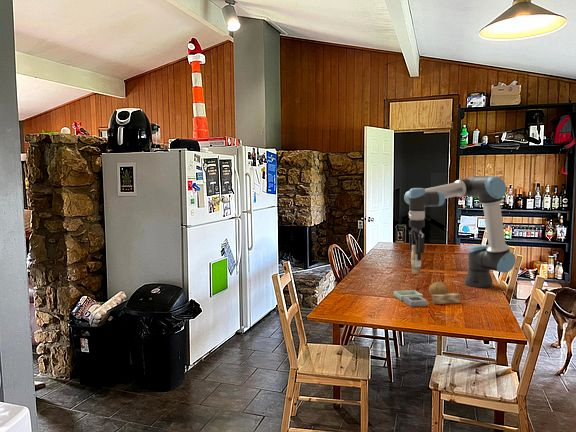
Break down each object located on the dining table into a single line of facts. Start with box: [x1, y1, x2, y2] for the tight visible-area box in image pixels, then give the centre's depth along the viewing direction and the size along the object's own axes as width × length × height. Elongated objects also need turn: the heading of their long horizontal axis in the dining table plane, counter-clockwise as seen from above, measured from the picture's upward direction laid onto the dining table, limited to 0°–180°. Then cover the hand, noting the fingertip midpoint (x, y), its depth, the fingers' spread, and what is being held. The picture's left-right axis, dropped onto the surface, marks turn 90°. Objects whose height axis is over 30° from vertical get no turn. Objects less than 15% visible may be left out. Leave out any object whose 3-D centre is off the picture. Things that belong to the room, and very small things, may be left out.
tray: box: [393, 289, 424, 302], centre depth 240 cm, size 12×10×2 cm
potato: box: [428, 281, 449, 297], centre depth 238 cm, size 10×14×8 cm
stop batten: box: [431, 292, 461, 305], centre depth 231 cm, size 14×3×4 cm, turn 99°
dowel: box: [411, 245, 421, 275], centre depth 227 cm, size 4×4×14 cm
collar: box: [402, 296, 429, 307], centre depth 229 cm, size 9×9×2 cm
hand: (416, 265), depth 227 cm, fingers closed on dowel, 4 cm apart
